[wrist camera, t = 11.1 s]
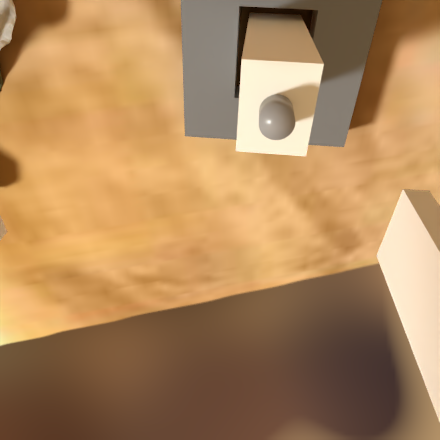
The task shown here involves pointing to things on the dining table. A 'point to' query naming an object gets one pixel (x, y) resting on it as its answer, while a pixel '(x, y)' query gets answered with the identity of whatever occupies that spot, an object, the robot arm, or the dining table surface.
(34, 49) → the dining table surface
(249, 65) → the cream long rectangular block
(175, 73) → the dining table surface
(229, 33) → the socket
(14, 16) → the artificial flower
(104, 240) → the dining table surface
